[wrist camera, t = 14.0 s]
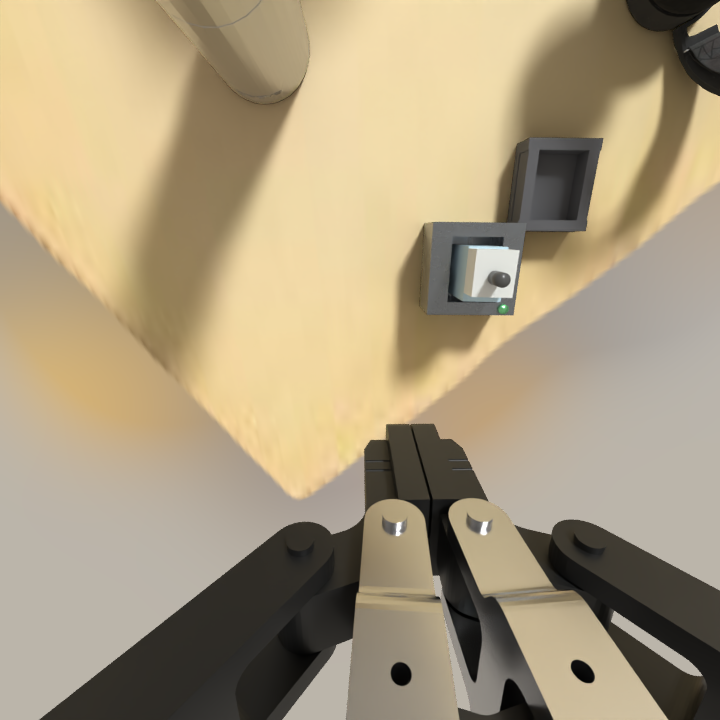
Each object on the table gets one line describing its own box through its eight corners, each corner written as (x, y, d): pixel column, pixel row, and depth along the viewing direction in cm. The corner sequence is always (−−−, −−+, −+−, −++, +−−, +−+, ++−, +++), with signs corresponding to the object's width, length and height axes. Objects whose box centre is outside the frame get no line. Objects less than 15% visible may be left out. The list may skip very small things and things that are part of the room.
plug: (450, 244, 40) (485, 247, 29) (483, 245, 40) (530, 248, 29) (445, 290, 41) (477, 310, 31) (477, 291, 42) (520, 311, 31)
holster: (517, 144, 38) (529, 136, 35) (585, 145, 38) (603, 137, 35) (505, 231, 40) (517, 230, 38) (569, 231, 40) (585, 231, 38)
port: (424, 223, 40) (433, 221, 35) (506, 224, 40) (527, 222, 35) (419, 305, 43) (427, 315, 38) (496, 306, 43) (514, 315, 38)
